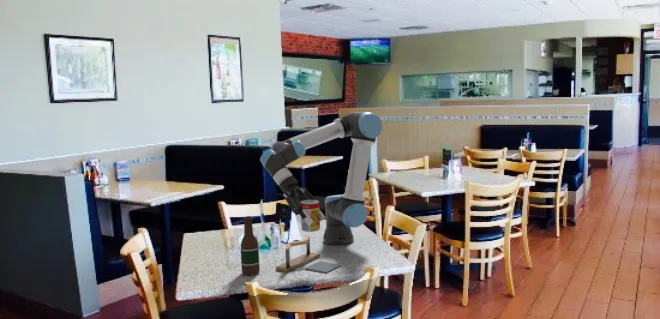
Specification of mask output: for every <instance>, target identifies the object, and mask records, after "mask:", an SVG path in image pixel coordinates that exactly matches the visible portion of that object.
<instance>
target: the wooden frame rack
mask: <svg viewBox="0 0 660 319" xmlns="http://www.w3.org/2000/svg"><path fill="white" fill-rule="evenodd" d="M310 241H311V240H310V235H306V236H305V237H304V240H298V241H292V242H287V245H286V246H285V251H284V252H285V262H283V263H281V264H280V265H276V266H275V270H276V271H278V270H279V272H284V273H289V272H291V271H294V270H295V269H297V268H299V267H302V266H304V265H306V264H308V263H310V262H312V261H314V260H316V259H319V258H320V257H321V254H320V253H317V252H311V244H310V243H311V242H310ZM303 245H306V246H305V248H306V249H305V250H306V253H304V254H301V255H300V256H297V257H295V258H292V259H291V258H290V250H291V248H292V247H295V246H303Z"/></svg>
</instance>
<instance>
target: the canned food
mask: <svg viewBox="0 0 660 319" xmlns="http://www.w3.org/2000/svg"><path fill="white" fill-rule="evenodd" d="M299 202H300V205H301V208H302V210H305V212H306V213H307V214H308V215H309V217H310V218H311V219H312V221H313V222H312V224H311V225H310V226H308V224H307V223H306V222H305V220H304V219H303V218H302V217H301V216H300V226H301V231H302V232H306V233H309V232H311V233H313V232H317V231H319V230H321V221H320V212H319V209H320V201H319V200H317V199H316V200H304V201H303V200H301V201H299Z"/></svg>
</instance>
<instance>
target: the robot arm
mask: <svg viewBox="0 0 660 319" xmlns="http://www.w3.org/2000/svg"><path fill="white" fill-rule="evenodd" d="M382 122H383V121H382V120H381V118H380V117H379V116H378V115H377V114H376V113H374V112H371V111H365V112H362V111H354V112H349V113H347V114H345V115H343V116H340V117H338V118H335V119H334V120H333V122H331V123H328V124H325V125H323V126H319V127H318V128H314V129H312V130H309V131H306V132H304V133H301V134H299V135H298V134H297V135H296V136H292V137H290V138H287V139H285V140H283V141H276V142H273V143H272V144H271V146H270V149H269V150H266V151H264V153H263V154H262V155H261V156H260V158H259V161H260V162H261V164H262V166H263V168H264V169H265V170H266V171H267V173H268V174H269V175H270V176H271V177H272V178H271V179H273V180H274V182H275V183H276V185H277V186H279V189H281V191H282V192H283V194H282V197H283V198H284V200H285V201H286V203H287V205H288V206H289V208H290V210H291V211H292V213H293V214H295V215H297V216H298V215H299V216H300V218H301V217H302V218H303V219H304V220H305V222H306V223H307V224H308V226H310V225H311V224H312V222H313V221H312V219H311V218H310V217H309V215H308V214H307V213H306V212H305V210H302V208H301V204H300V202H301V201H304V200H317V199H316V198H315V197H314V196H313V195H312V194H311V193H310V192H309V190H307V187H305V186H303V187H300V186H299V185H298V181H297V179H296V178H295V176H293V173H292V172H291V171H290V170H289V169H288V168H287V167H288V166H289V165H290V164H292V163H294V162H295V161H297V160H299V159H301V157H303V156H305V155H306V150H308V149H310V148H314V147H317V146H319V145H321V144H324V143H326V142H327V143H328V142H330V141H332V140H334V139H337V138H340V139H344V138H346V137H350V139H351V141H352V144H353V145H352V149H351V155H350V162H349V168H348V174H347V178H346V186H345V190H344V193H343V194H336V195H335V194H334V195H329V196H326V198H325V200H324V202H325V203H324V208H325V215H324V213H323V212H322V211H321V209H320V208H319V212H320V222H322V221H324V219H325V230H324V231H323V232H324V233H323V237H322V240H323V242H322V243H324V244H326V245H332V246H343V245H349V244H352V243H353V242H354V240H355V238H354V235H353V234H354V233H353V231H352V228H359V227H361V226H362V225H363V224H364V223H365V222H366V220H367V219H368V210H367V208H366V206H365V205H366V198H365V197H364V190H365V185H366V179H367V174H368V167H369V162H370V156H371V149H372V147H373V145H374V144H376V140H377V137H379V136H380V135H381V134H382V131H383V123H382ZM300 200H301V201H300Z"/></svg>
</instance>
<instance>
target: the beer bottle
mask: <svg viewBox="0 0 660 319" xmlns="http://www.w3.org/2000/svg"><path fill="white" fill-rule="evenodd" d="M243 222H244V223H243V227H244V228H243V237H242V239H241V241H240V263H241V273H242V276H245V275H246V277H251V276H252V275H254V276H256V274H257V275H259V274H260V270H261V269H260V267H261V265H260V251H259V250H260V248H259V241H258V239H257V238H256V236H255V234H254V228H253V217H252V216H250V215H249V216H244V217H243ZM258 273H259V274H258ZM252 277H253V276H252Z"/></svg>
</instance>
